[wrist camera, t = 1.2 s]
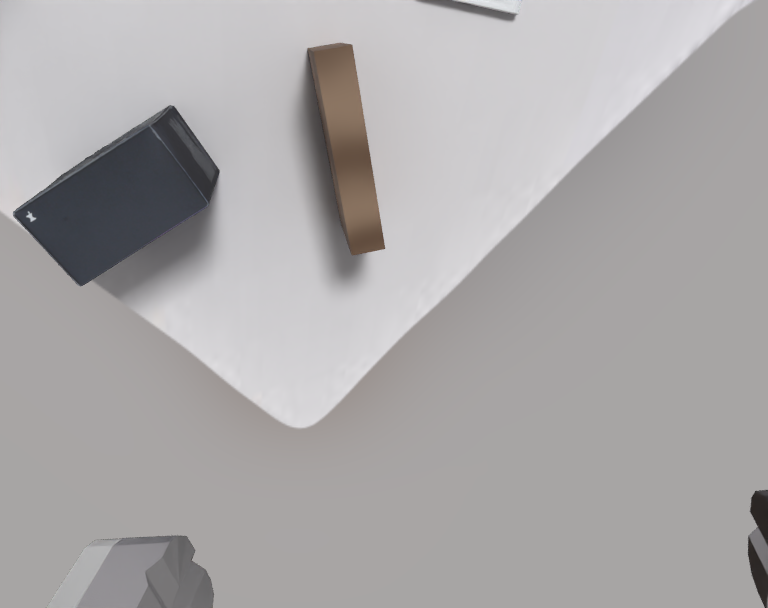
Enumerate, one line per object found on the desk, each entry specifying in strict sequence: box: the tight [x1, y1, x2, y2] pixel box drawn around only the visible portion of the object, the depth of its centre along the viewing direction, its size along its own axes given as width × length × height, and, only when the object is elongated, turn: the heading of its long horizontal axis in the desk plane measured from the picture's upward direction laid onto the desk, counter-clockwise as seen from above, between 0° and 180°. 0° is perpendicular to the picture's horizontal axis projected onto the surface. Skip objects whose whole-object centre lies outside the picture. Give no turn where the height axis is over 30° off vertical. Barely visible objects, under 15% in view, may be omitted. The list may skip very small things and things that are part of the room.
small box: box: [13, 105, 219, 286], centre depth 43 cm, size 11×6×10 cm, turn 120°
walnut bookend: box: [308, 43, 385, 255], centre depth 46 cm, size 14×2×8 cm, turn 9°
